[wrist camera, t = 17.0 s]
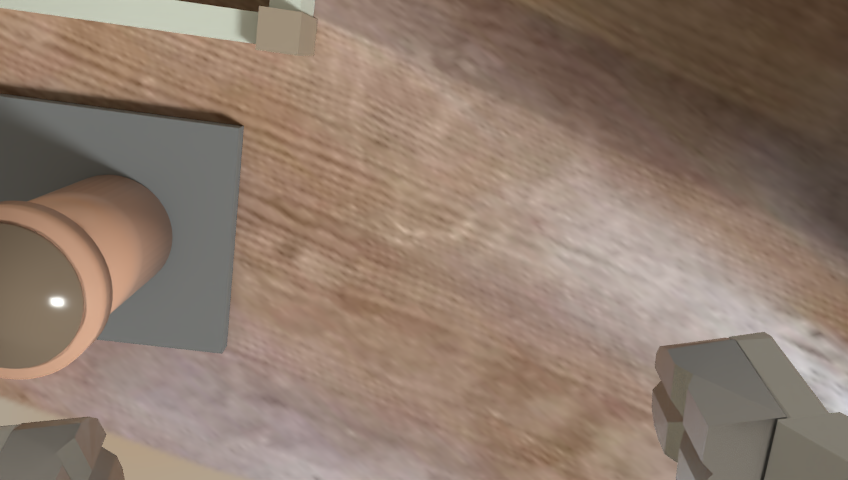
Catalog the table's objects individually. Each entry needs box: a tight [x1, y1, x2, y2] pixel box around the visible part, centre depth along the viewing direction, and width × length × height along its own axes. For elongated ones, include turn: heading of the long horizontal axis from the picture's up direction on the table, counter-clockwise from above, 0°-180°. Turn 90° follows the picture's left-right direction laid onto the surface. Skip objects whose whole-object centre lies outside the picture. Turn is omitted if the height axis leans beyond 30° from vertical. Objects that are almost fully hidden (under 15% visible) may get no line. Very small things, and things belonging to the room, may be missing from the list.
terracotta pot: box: [0, 175, 172, 379], centre depth 29 cm, size 6×6×9 cm
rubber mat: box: [0, 94, 244, 354], centre depth 34 cm, size 11×11×1 cm
